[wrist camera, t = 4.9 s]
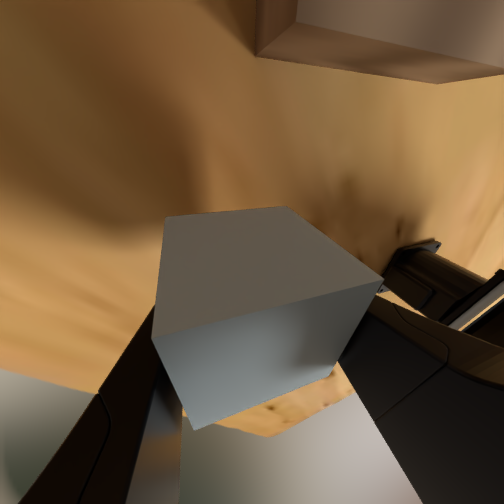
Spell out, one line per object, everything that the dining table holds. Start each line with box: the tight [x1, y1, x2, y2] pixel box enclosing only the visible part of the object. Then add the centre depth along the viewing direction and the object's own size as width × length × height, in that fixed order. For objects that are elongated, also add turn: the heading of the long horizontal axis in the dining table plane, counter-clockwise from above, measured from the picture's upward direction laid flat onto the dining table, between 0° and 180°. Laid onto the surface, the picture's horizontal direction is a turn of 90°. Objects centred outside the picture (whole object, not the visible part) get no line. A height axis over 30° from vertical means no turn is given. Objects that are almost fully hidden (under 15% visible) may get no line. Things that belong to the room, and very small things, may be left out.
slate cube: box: [151, 206, 384, 430], centre depth 7 cm, size 5×5×5 cm
